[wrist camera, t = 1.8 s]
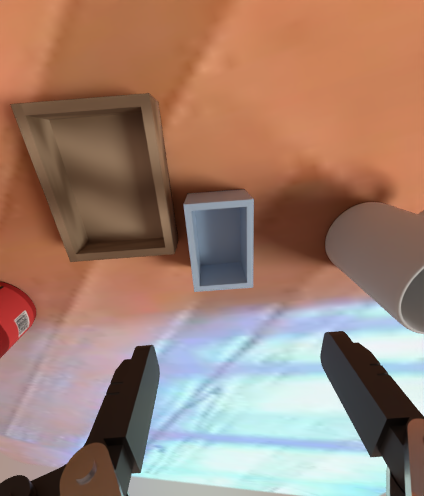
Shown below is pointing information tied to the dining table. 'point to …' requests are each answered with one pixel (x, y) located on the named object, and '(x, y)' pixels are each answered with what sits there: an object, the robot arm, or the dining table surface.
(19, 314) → the canned food
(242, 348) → the dining table surface
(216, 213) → the small crate
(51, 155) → the box
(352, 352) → the robot arm
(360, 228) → the mug
